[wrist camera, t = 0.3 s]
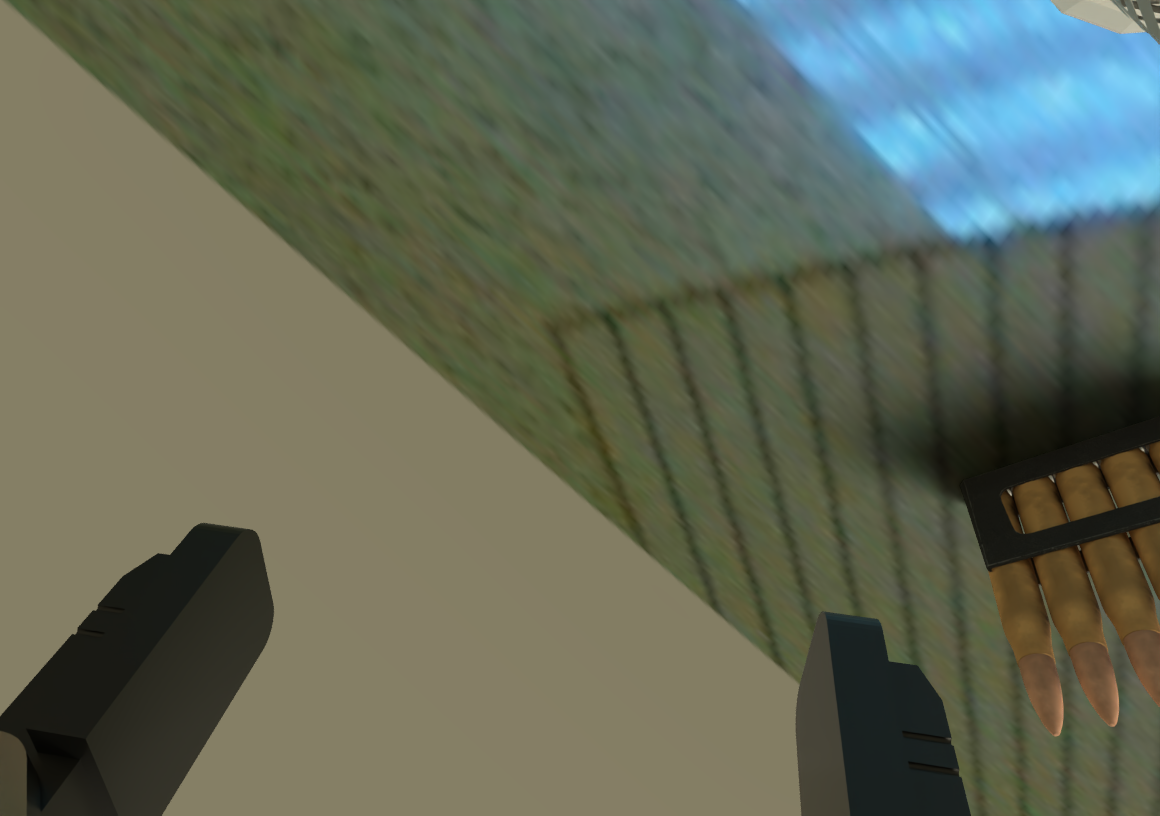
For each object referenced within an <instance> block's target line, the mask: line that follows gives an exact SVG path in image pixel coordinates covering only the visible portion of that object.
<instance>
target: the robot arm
mask: <svg viewBox="0 0 1160 816" xmlns="http://www.w3.org/2000/svg"><path fill="white" fill-rule="evenodd" d="M273 616H274V606H273V600H272V595H271V591H270V586H269V582H268V577H267V572H266V567H265V563H264V558H263V553H262V548H261V543H260V540H259V537H258V535H257V533H256V532H255V531H253V530H250V529H243V528H236V527H229V526H221V525H215V524H208V523H200V524H198V525H197V526H195V527H194V528H193V529H192V530H191V531H190V532H189V533H188V534H187V536H186V537H185V538H184V539H183V540H182V541H181V543H180V544H179V545H178V546H177V547H176V549H175V550H174V551H173V552H172V553H171V555H166V554H159V553H158V554H156V555H155V556H153V557H152V558H150V559H149V560H147V561H146V562H144V563H143V564H141V565H139V566H138V567H136V568H135V569H133V570H132V571H130V572H129V573H127V574H126V575H124V576H123V577H122V578H121V579H120V580H119V581H118V582H117V584H116V585H115V586H114V587H113V588H112V589H111V591H110V592H109V593H108V594H107V595H106V596H105V597H104V599H103V600H102V601H101V602H100V603H99V604H98V609H97V610H96V611H92V612H91V613H90V614H89V616H88V617H87V618H86V619H85V620H84V621H83V622H82V624H81V625H80V626H79V627H78V631H77V633H76V634H75V635H74V634H72V635H71V636H70V637H69V638H68V639H67V641H66V642H65V643H64V644H63V645H62V647H61V648H60V649H59V650H58V651H57V652H56V653H55V654H54V655H53V657H52V658H51V659H50V660H49V661H48V662H47V664H46V665H45V666H44V667H43V668H42V669H41V670H40V672H39V673H38V674H37V675H36V676H35V677H34V678H33V679H32V681H31V682H30V683H29V684H28V685H27V686H26V687H25V689H24V690H23V691H22V692H21V693H20V694H19V695H18V697H17V698H16V699H15V700H14V701H13V702H12V703H11V705H10V706H9V707H8V708H7V709H6V710H5V712H4V713H3V714H2V715H1V716H0V816H162V814H163V812H164V811H165V809H166V807H167V805H168V804H169V803H170V801H171V799H172V797H173V796H174V794H175V793H176V791H177V789H178V788H179V786H180V784H181V783H182V781H183V780H184V778H185V776H186V774H187V773H188V771H189V770H190V768H191V766H192V765H193V763H194V762H195V760H196V758H197V757H198V755H199V753H200V752H201V750H202V749H203V747H204V745H205V744H206V742H207V740H208V739H209V737H210V735H211V734H212V732H213V731H214V729H215V727H216V726H217V724H218V722H219V721H220V719H221V718H222V716H223V714H224V713H225V711H226V709H227V708H228V706H229V705H230V703H231V701H232V700H233V698H234V696H235V695H236V693H237V691H238V690H239V688H240V686H241V685H242V683H243V681H244V680H245V678H246V677H247V675H248V673H249V672H250V670H251V668H252V667H253V665H254V664H255V662H256V660H257V659H258V657H259V655H260V654H261V652H262V651H263V649H264V647H265V645H266V643H267V640H268V638H269V635H270V632H271V628H272V623H273ZM796 741H797V757H798V771H799V784H800V785H799V786H800V800H801V815H802V816H971V814H970V810H969V806H968V802H967V798H966V794H965V790H964V786H963V782H962V778H961V777H959V766H958V762H957V758H956V754H955V750H954V746H952V745H951V734H950V730H949V726H948V722H947V718H946V714H945V710H944V706H943V702H942V700H941V698H940V697H939V695H938V694H937V692H936V691H935V690H934V688H933V687H932V685H931V684H930V683H929V681H928V680H927V678H926V677H925V675H924V674H923V673H922V671H921V670H920V668H919V667H918V666H917V665H910V664H903V663H896V662H889V661H888V655H887V650H886V645H885V640H884V635H883V630H882V626H881V623H880V622H879V620H878V619H872V618H865V617H858V616H851V615H844V614H837V613H830V612H821V613H820V614H819V616H818V619H817V622H816V626H815V630H814V633H813V637H812V641H811V645H810V648H809V652H808V656H807V659H806V663H805V667H804V671H803V674H802V678H801V682H800V686H799V691H798V698H797V707H796Z"/></svg>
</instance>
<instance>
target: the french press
mask: <svg viewBox="0 0 1160 816" xmlns="http://www.w3.org/2000/svg"><path fill="white" fill-rule="evenodd" d="M1051 1H1052V2H1053V4H1054V5H1055V6H1056V7H1057V8H1058V9H1059V10H1060V12H1061V13H1063V14H1066V15H1069V16H1072V17H1074V18H1077V19H1080V20H1083V21H1086V22H1088V23H1091V24H1094V25H1097V26H1100V27H1102V28H1105V29H1108V30H1111V31H1114V32H1116V33H1119V34H1125V33H1139V32H1147V33H1149V34H1150V35H1151V36H1152V37H1153V38H1154V39H1155V40H1156V41H1157V42H1158V44H1160V0H1051Z"/></svg>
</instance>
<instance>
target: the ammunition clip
mask: <svg viewBox="0 0 1160 816" xmlns="http://www.w3.org/2000/svg"><path fill="white" fill-rule="evenodd" d="M1158 474H1160V416H1159V417H1156V418H1153V419H1150V420H1147V421H1144V422H1141V423H1137V424H1134V425H1131V426H1128V427H1125V428H1122V429H1119V430H1116V431H1113V432H1110V433H1107V434H1104V435H1101V436H1098V437H1095V438H1091V439H1088V440H1085V441H1082V442H1079V443H1076V444H1073V445H1070V446H1067V447H1064V448H1061V449H1058V450H1055V451H1052V452H1049V453H1045V454H1042V455H1039V456H1036V457H1033V458H1030V459H1027V460H1024V461H1021V462H1018V463H1015V464H1012V465H1009V466H1006V467H1003V468H999V469H996V470H993V471H990V472H987V473H984V474H981V475H978V476H975V477H972V478H969V479H966V480H963V482H962V483H961V485H960V487H961V490H962V493H963V496H964V500H965V503H966V506H967V509H968V512H969V515H970V518H971V521H972V524H973V528H974V531H975V534H976V537H977V540H978V543H979V546H980V549H981V552H982V555H983V559H984V562H985V565H986V568H987V569H988V572H989V575H990V579H991V583H992V587H993V591H994V595H995V599H996V603H997V606H998V610H999V614H1000V618H1001V622H1002V626H1003V629H1004V632H1005V635H1006V637H1007V639H1008V641H1009V643H1010V645H1011V647H1012V649H1013V651H1014V654H1015V657H1016V660H1017V664H1018V667H1019V668H1020V671H1021V675H1022V678H1023V682H1024V685H1025V688H1026V690H1027V693H1028V695H1029V698H1030V700H1031V703H1032V705H1033V707H1034V709H1035V711H1036V713H1037V714H1038V716H1039V718H1040V719H1041V721H1042V723H1043V724H1044V725H1045V727H1046V728H1047V729H1048V730H1049V732H1050V733H1051V734H1052V735H1054V736H1058V735H1059V734H1060V732H1061V729H1062V724H1063V698H1062V691H1061V685H1060V680H1059V676H1058V673H1057V669H1056V665H1055V663H1056V662H1055V658H1054V653H1053V649H1052V645H1051V627H1050V623H1049V619H1048V616H1047V612H1046V609H1045V606H1044V602H1043V599H1042V595H1041V592H1040V589H1039V585H1041V586H1042V589H1043V592H1044V595H1045V598H1046V602H1047V605H1048V608H1049V611H1050V614H1051V618H1052V620H1053V623H1054V625H1055V627H1056V628H1057V630H1058V632H1059V633H1060V635H1061V637H1062V638H1063V641H1064V644H1065V646H1066V649H1067V652H1068V654H1069V656H1070V657H1071V660H1072V663H1073V666H1074V669H1075V672H1076V675H1077V677H1078V679H1079V682H1080V684H1081V686H1082V688H1083V690H1084V692H1085V694H1086V696H1087V698H1088V699H1089V701H1090V703H1091V704H1092V706H1093V707H1094V709H1095V710H1096V712H1097V713H1098V714H1099V716H1100V717H1101V718H1102V719H1103V720H1104V721H1105V722H1106V723H1107V724H1108V725H1109V726H1115V725H1116V723H1117V720H1118V714H1119V698H1118V689H1117V684H1116V679H1115V674H1114V670H1113V666H1112V663H1111V660H1110V657H1109V654H1108V648H1107V645H1106V641H1105V638H1104V634H1103V628H1102V618H1101V613H1100V609H1099V606H1098V603H1097V600H1096V597H1095V595H1094V592H1093V589H1092V586H1091V583H1090V580H1089V578H1088V575H1087V573H1089V572H1090V575H1091V577H1092V580H1093V583H1094V585H1095V588H1096V591H1097V593H1098V596H1099V599H1100V601H1101V604H1102V607H1103V609H1104V611H1105V613H1106V614H1107V616H1108V617H1109V619H1110V620H1111V622H1112V623H1113V625H1114V626H1115V628H1116V630H1117V633H1118V635H1119V637H1120V640H1121V642H1122V644H1123V645H1124V646H1125V649H1126V652H1127V654H1128V657H1129V659H1130V661H1131V664H1132V666H1133V668H1134V670H1135V672H1136V674H1137V675H1138V677H1139V679H1140V681H1141V683H1142V684H1143V686H1144V687H1145V689H1146V690H1147V692H1148V693H1149V695H1150V696H1151V697H1152V699H1153V700H1154V701H1155V702H1156V704H1157V705H1158V706H1159V707H1160V625H1159V623H1158V620H1157V616H1156V609H1155V603H1154V598H1153V595H1152V593H1151V590H1150V588H1149V586H1148V583H1147V581H1146V578H1145V576H1144V574H1143V571H1142V569H1141V567H1140V564H1139V562H1138V560H1140V559H1141V561H1142V563H1143V566H1144V568H1145V570H1146V572H1147V575H1148V577H1149V579H1150V581H1151V584H1152V586H1153V588H1154V591H1155V593H1156V595H1157V597H1158V599H1159V600H1160V481H1159V479H1158V477H1157V475H1158ZM1108 489H1110V491H1111V493H1112V495H1113V497H1114V500H1115V502H1116V504H1117V507H1118V508H1117V509H1116V507H1115V504H1114V502H1113V500H1112V497H1111V495H1110V492H1109V490H1108ZM1062 503H1064V505H1065V508H1066V511H1067V513H1068V516H1069V519H1070V521H1071V522H1069V521H1068V518H1067V516H1066V513H1065V510H1064V507H1063V504H1062ZM1019 517H1020V519H1021V522H1022V525H1023V528H1024V532H1025V534H1023V531H1022V528H1021V524H1020V521H1019ZM1126 532H1129V534H1130V536H1131V537H1129V538H1128V535H1127V533H1126ZM1077 545H1080V548H1081V550H1080V551H1079V549H1078V547H1077ZM1032 557H1033V558H1032Z"/></svg>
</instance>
